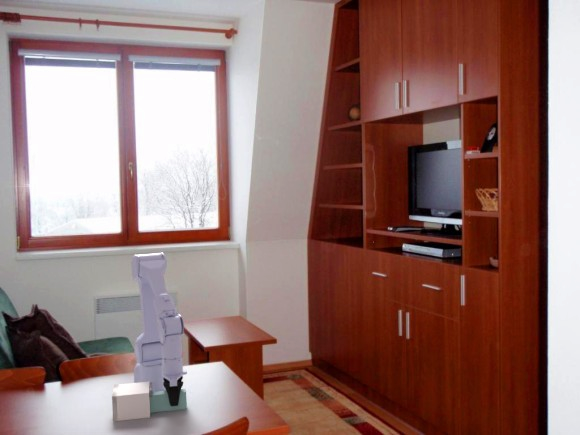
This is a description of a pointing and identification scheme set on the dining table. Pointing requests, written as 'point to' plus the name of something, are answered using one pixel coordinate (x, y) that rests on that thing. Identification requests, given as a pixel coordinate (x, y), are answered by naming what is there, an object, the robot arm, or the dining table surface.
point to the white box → (131, 401)
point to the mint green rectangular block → (166, 402)
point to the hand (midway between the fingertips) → (174, 403)
